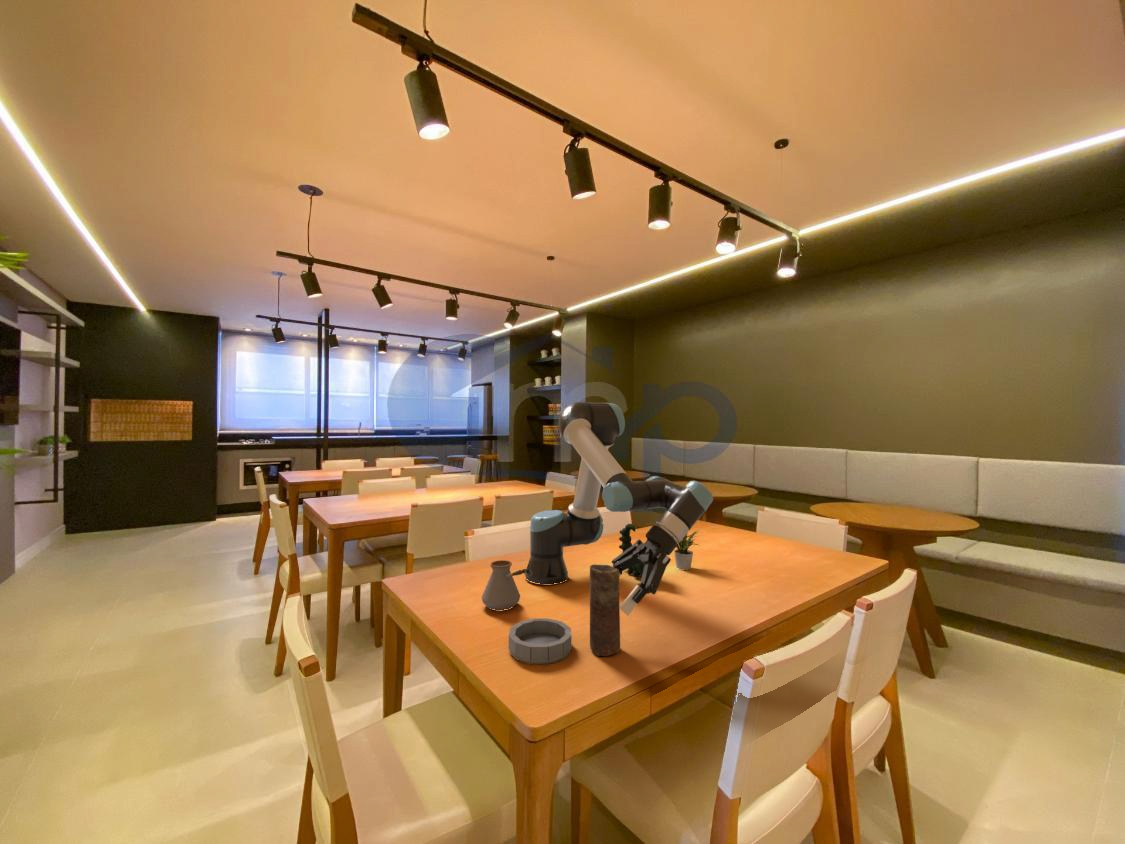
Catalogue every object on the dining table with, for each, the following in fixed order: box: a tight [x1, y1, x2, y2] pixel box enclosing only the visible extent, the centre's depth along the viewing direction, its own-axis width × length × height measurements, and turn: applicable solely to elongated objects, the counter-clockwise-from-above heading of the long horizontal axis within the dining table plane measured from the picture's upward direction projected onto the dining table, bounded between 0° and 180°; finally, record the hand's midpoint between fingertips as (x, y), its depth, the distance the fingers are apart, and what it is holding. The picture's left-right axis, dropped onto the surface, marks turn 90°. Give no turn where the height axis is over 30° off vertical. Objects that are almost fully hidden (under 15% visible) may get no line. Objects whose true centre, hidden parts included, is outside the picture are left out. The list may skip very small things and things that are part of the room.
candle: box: [589, 564, 621, 657], centre depth 108 cm, size 8×7×20 cm
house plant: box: [673, 529, 703, 571], centre depth 170 cm, size 14×14×16 cm
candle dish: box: [508, 617, 573, 665], centre depth 108 cm, size 15×15×4 cm
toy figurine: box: [618, 523, 645, 579], centre depth 160 cm, size 9×19×25 cm
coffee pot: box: [481, 559, 532, 610], centre depth 130 cm, size 21×12×15 cm, turn 37°
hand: (611, 600), depth 107 cm, fingers open, 13 cm apart
